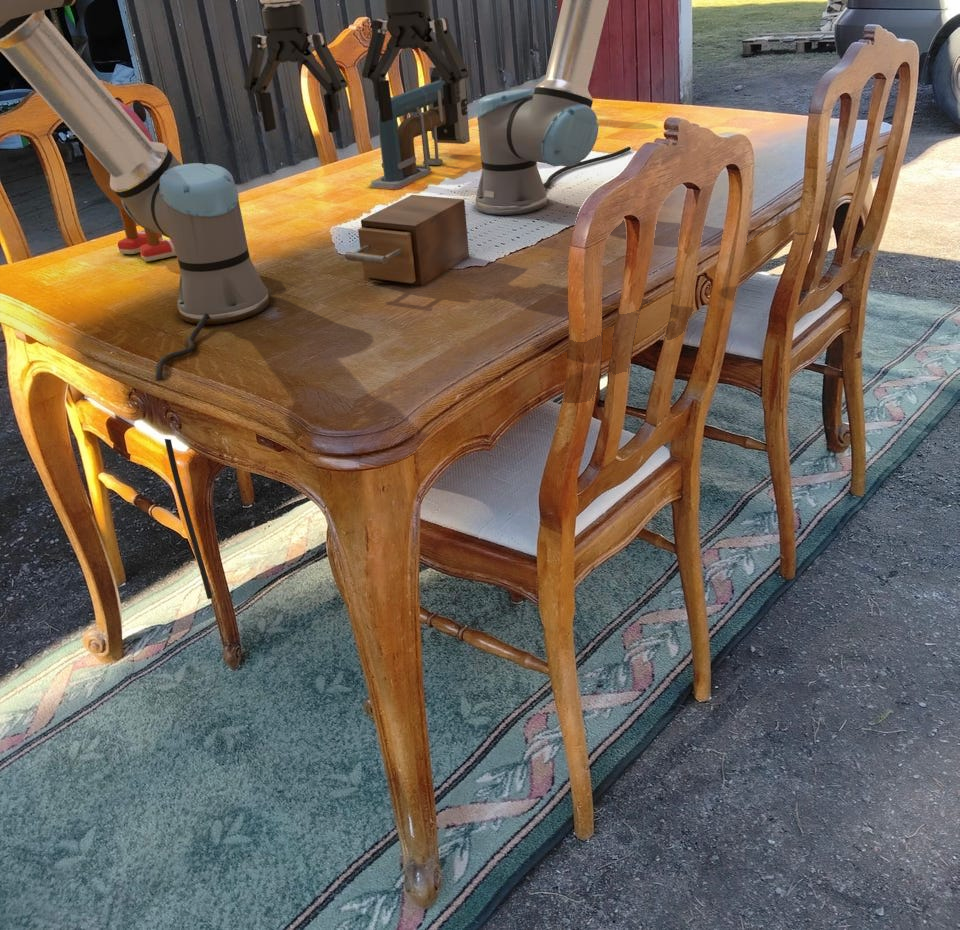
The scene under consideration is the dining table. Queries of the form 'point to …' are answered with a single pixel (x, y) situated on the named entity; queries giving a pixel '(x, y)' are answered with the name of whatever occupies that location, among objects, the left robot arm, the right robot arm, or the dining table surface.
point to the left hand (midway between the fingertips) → (302, 130)
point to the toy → (134, 241)
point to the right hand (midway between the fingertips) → (419, 122)
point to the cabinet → (427, 232)
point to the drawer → (385, 254)
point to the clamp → (418, 131)
